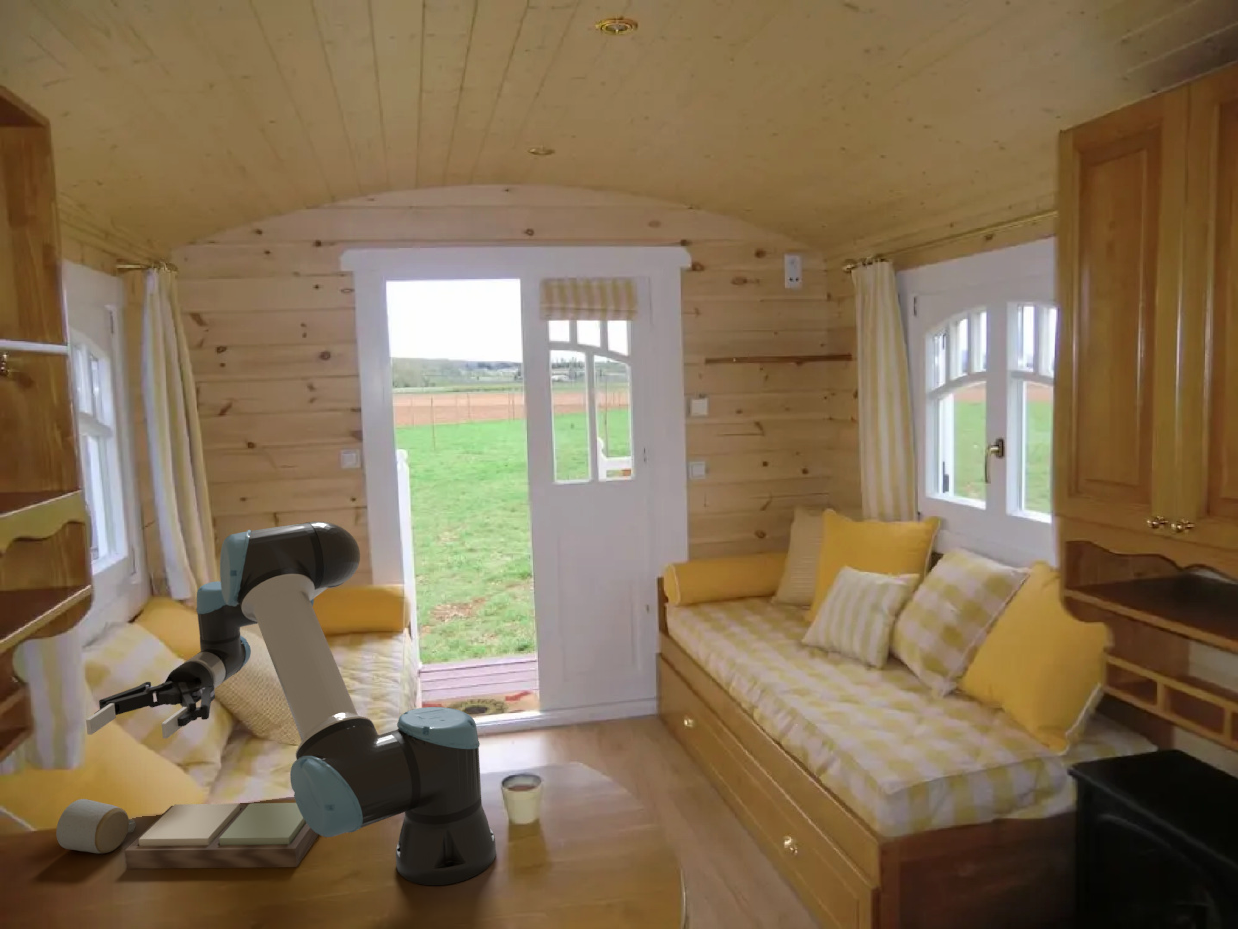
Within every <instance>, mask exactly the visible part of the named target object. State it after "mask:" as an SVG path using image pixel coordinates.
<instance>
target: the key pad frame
mask: <svg viewBox="0 0 1238 929" xmlns="http://www.w3.org/2000/svg"><path fill="white" fill-rule="evenodd" d="M239 805H240V812H239V813H238V814H237V815H236V816H235V817H234V818H233V819H232V821H231V822H230V823H229V824H228V825H227V826H226V827H225V828H224V830H223V831H222V832H221V833H220V834H219V835H218V836H217V837H216V839H215V840H214V841H213V842H212V843H211V844H210V845H199V846H139V838H140V837H141V836H143V835H144V834H145V833H146V832H147V831H148V830H149V829H150V828H151V827H152V826H153V825H154V824H155V823H156V822H157V821H158V820H159V819H160V818H161V817H162V816H163V815H164V814H165V813H167V812H168V811H169V810H170V809H171V808H172V807H173V806H174V805H170V806H169V808H167V809H166V810H165V811H164V812H163V813H162V814H161V815H160V816H159V817H158V818H157V819H156V820H155V821H153V823H151V825H150V826H148V828H146V830H145V831H143V832H142V833H141V834H139V836H138V837H137V838H136V839H135V840H134V841H133V842H132V843H131V844H130V845H129V846H128V847H127V848H125V850H124V856H125V858H124V859H125V864H126V869H128V870H129V869H212V868H214V869H215V868H216V869H217V868H218V869H220V868H221V869H222V868H231V869H233V868H236V869H237V868H298V866H299V865H300V863H301V861H302V860H303V858H304V857H305V856H306V854H307V853H308V851H309V850H310V848H311V847H312V846H313V844H314V843H315V841H316V840H317V838H318V837H319V834H317V833H316V832H314V831H313V830H312V829H311V828H310V827H309V826H308V824H307V823H306V824H305V825H304V827H303V828H302V829H301V831H300V832H299V834H298V835H297V836H296V838H295V839H294V840H293V842H292V843H291V845H220V841H219V838H220V837H221V836H222V834H223V833H224V832H225V831H226V830H227V829H228V828H229V827H230V825H231V824H232V823H233V822H234V821H235V820H236V819H237V817H238V816H239V815H240V814H241V813H242V812H243V811H244V810H245V808H246V807H247V806H248V805H249V804H239Z"/></svg>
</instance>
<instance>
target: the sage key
mask: <svg viewBox="0 0 1238 929" xmlns="http://www.w3.org/2000/svg"><path fill="white" fill-rule="evenodd" d="M247 805H248V806H247V807H246V808H245V810H244V811H243V812H242V813H241V814H240V815H239V816H238V817H237V819H236V820H235V821H234V822H233V823H232V824H231V825H230V827H229V828H228V829H227V830H226V831H225V832H224V833H223V834H222V836H221V837H220V838H219V841H220V845H291V843H292V842H293V840H294V839H295V838H296V836H297V835H298V834H299V832H300V831H301V829H302V828H303V827H304V825H305V824H306V821H305V820H304V818H303V816H302V815H301V813H300V811H299V808H298V806H297V804H296V802H267V803H266V802H265V803H264V802H263V803H262V802H259V803H258V802H257V803H253V802H252V803H251V802H250V803H249V804H247Z"/></svg>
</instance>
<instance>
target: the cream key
mask: <svg viewBox="0 0 1238 929" xmlns="http://www.w3.org/2000/svg"><path fill="white" fill-rule="evenodd" d="M240 805H241V804H240V803H194V804H193V803H183V804H181V803H180V804H179V803H178V804H173V805H172V806H173V807H172V808H171V809H170V810H169V811H168V812H167V813H165V814H164V815H163V816H162V817H161V818H160V819H159V820H158V821H157V822H156V823H155V824H154V825H153V826H152V827H151V828H150V829H149V830H148V831H147V832H146V833H145V834H144V835H143V836H141V837H140V838H139V846H199V845H210V844H211V843H212V842H213V841H214V840H215V839H216V837H217V836H218V835H219V834H220V833H221V832H222V831H223V830H224V828H225V827H226V826H227V825H228V824H229V823H230V822H231V821H232V819H233V818H234V817H235V816H236V815H237V814H238V813H239V812H240Z"/></svg>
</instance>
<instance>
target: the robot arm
mask: <svg viewBox="0 0 1238 929" xmlns="http://www.w3.org/2000/svg"><path fill="white" fill-rule="evenodd" d="M219 556H220V558H219V577H220V581H219V580H218V581H217V580H216V581H211V582H207V583H205V584H202V585H201V586H200V587H198V589H197V591H196V610H195V611H196V613H197V622H198V623H197V624H198V630H199V631H198V632H199V646H200V649H199V650H200V651H199V652H198V653H196V654H195V655H192V657H190V658H189V659H187V660H186V661H184V662H183V663H181V664H180V665H179V666H177V667H176V668H175V669H173V670H172V671H171V672H170V673H169V674H168V676H167V677H166V679H165V681H164V682H162V683H160V684H158V685H155V686H154V685H152V682H151V681H145V682H143V683H141V684H140V685H137V686H136V687H133V688H129V689H127V690H124V691H121V692H118V693H116V694H112V695H110V696H107V697H104V698H102V699H99V700H98V705H99V710H97V711H96V712H94V714H92V715H90V716H89V717H87V718H86V719H85V723H86V732H87V735H89V736H90V735H93V734H95V733H96V732H98V731H100V729H103V728H104V727H105V726H106V725H108V724H109V723H111V722H112V721H114V720H115V719H116V718H117V717H116V716H117V715H121V714H122V715H123V714H125V713H129V712H132V711H135V710H139V709H143V708H146V707H150V708H152V709H153V708H157V707H160V706H163V705H167V706H168V705H170V706H176V705H180V706H181V708H180V709H178V710H177V711H176V712H174V713H173V714H172V715H170V717H168V718H167V719H165V720H164V721H163V722H161V733H162V739H166V740H167V739H169V738H170V737H171V736H172V735H174V734H175V733H176V732H177V731H179V730H180V729H181V728H182V727H185V726H187V725H188V724H189V723H190V722H194V721H196V720H198V718H201V720H208V719H209V718H210V713H211V704H212V702H213V701H214V700H215V699H216V695H215V694H216V693H215V691H216V690H215V689H216V688H218V686H220V685H222V683H224V682H226V681H227V680H228V679H230V678H231V677H232V676H234V675H235V674H237V673H238V672H240V671H241V670H242V668H244V666H245V665H247V663H248V661H249V660H250V658H251V655H252V654H251V653H252V650H251V645H249V643H248V640H247V639H246V637H244V636H243V635H241V628H243V627H247V626H251V625H252V626H253V625H258V628H259V630H260V633H261V636H262V638H263V641H264V644H265V646H266V649H267V652H268V653H269V654H268V655H269V657H270V660H271V662H272V663H271V664H272V665H273V668H274V671H275V673H276V676H277V678H278V681H279V684H280V686H281V689H282V691H283V694H284V697H285V700H286V703H287V705H288V708H289V711H290V714H291V716H292V718H293V720H294V721H293V722H294V723H295V727H296V729H297V731H298V734H299V737H300V740H301V742H300V743H299V745H298V747H297V749H296V752H295V759H296V760H295V761H294V762H293V763H292V765H291V769H290V777H289V778H290V783H291V784H290V785H291V789H292V790H293V793H294V794H293V797H294V800H295V803H296V804H297V806H298V808H299V811H300V813H301V815H302V816H303V818H304V820H305V821H306V823H307V824H308V826H309V827H310V828H311V829H312V830H313V831H314V832H316V833H317V834H319V835H320V836H322V837H324V838H333V837H336V836H339V835H343V834H346V833H354V832H357V831H358V830H360V829H361V828H364V827H367V826H370V825H373V824H375V823H378V822H381V821H383V820H386V819H389V818H393V817H394V816H397V815H401V814H403V813H404V818H403V822H402V826H401V829H400V834H399V838H398V842H397V845H396V848H395V862H396V863H395V864H396V871H397V872H398V873H399V875H400V876H401V877H402V878H404V879H405V880H406V881H409V882H412V883H415V884H419V885H425V886H445V885H453V884H456V883H460V882H464V881H466V880H470V879H471V878H473V877H477V876H478V875H479V874H481V873H482V872H484V871H485V870H487V869H488V868H489V867H490V866H491V865H492V864H493V862H494V860H495V858H496V855H497V849H496V838H495V833H494V832H493V830H492V828H491V827H490V825H489V821H488V818H487V814H486V813H485V810H484V808H483V802H482V785H481V767H480V750H479V748H480V745H481V744H480V741H479V735H478V729H477V724H476V721H475V719H474V718H473V717H472V716H471V715H470V714H468V713H466V712H465V711H463V710H459V709H456V708H451V707H444V706H442V707H441V706H427V707H419V708H414V709H410V710H407V711H405V712H404V713H403V714H401V715H400V716H399V718H398V721H397V724H396V725H397V728H396V729H395V730H392V731H388V732H385V733H382V734H379V733H378V732H377V729H376V727H375V724H374V722H373V721H372V719H371V718H368V717H366V716H362V715H359V714H358V711H357V710H356V706H355V705H354V703H353V700H352V697H351V694H350V693H349V690H348V688H347V686H346V684H345V681H344V678H343V676H342V673H341V671H340V669H339V666H338V663H337V662H336V660H335V657H334V655H333V651H332V650H331V648H330V646H329V643H328V640H327V638H326V636H325V633H324V631H323V629H322V626H321V623H320V622H319V619H318V617H317V614H316V612H315V609H314V608H313V606H314V602H315V600H314V599H315V598H316V597H317V596H319V595H320V594H322V593H324V592H325V590H327V589H333V588H336V587H339V586H342V585H343V584H344V583H345V582H347V581H349V580H350V579H351V578H352V577H353V576H354V575H355V574H356V571H357V570H358V568H359V565H360V562H361V553H360V547H359V545H358V542H357V540H356V539H355V538H354V535H352V534H351V533H350V532H349V531H348V530H346V529H345V528H343V527H342V526H339V525H337V524H335V523H332V522H331V523H330V522H326V521H308V522H304V523H295V524H289V525H288V524H287V525H283V526H282V525H281V526H276V527H275V526H274V527H269V528H267V527H266V528H262V529H254V530H251V529H247V530H246V531H243V532H236V533H232V534H230V535H228V536H227V537H226V538H225V539H224V540H223V542H222V545H221V549H220V555H219ZM154 695H155V698H156V701H155V700H154ZM199 701H200V706H197V703H198V702H199ZM319 835H318V836H319Z"/></svg>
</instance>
